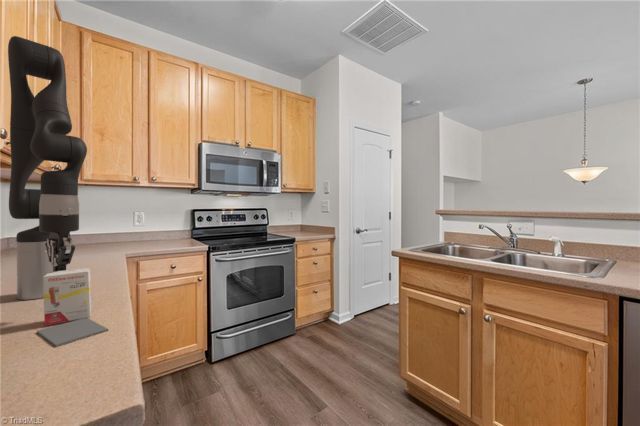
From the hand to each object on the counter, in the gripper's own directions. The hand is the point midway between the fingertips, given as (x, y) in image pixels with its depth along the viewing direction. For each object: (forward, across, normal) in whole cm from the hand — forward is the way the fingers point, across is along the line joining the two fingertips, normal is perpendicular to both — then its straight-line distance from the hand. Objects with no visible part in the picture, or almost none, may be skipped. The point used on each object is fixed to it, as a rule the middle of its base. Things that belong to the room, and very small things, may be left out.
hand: (59, 280), depth 73 cm
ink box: (+9, +6, 0) cm, 11 cm away
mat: (+9, +15, -2) cm, 17 cm away
